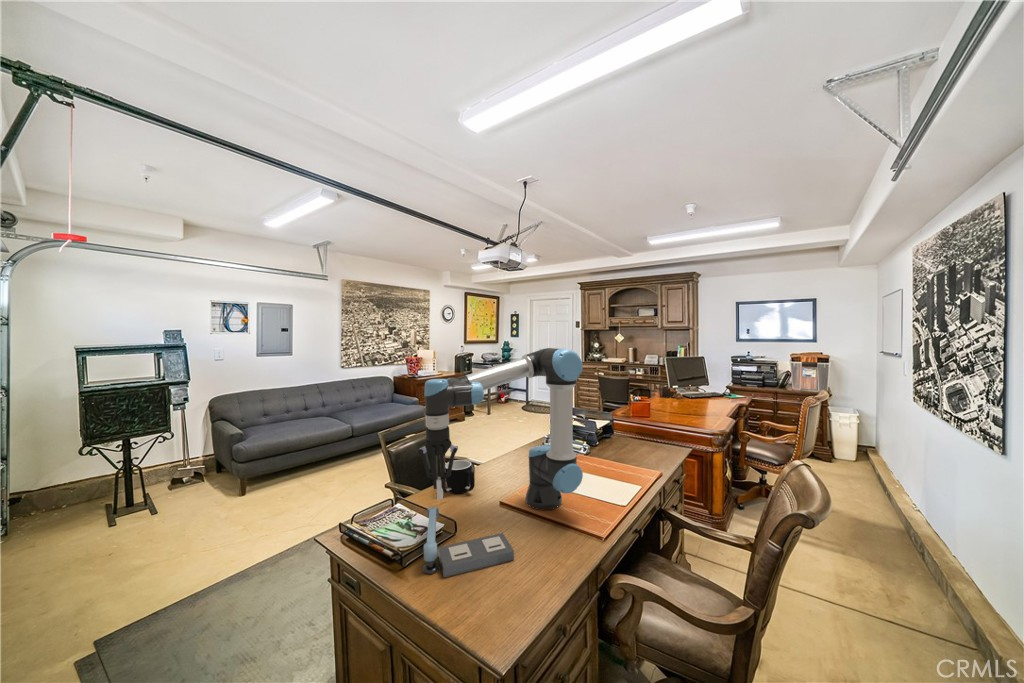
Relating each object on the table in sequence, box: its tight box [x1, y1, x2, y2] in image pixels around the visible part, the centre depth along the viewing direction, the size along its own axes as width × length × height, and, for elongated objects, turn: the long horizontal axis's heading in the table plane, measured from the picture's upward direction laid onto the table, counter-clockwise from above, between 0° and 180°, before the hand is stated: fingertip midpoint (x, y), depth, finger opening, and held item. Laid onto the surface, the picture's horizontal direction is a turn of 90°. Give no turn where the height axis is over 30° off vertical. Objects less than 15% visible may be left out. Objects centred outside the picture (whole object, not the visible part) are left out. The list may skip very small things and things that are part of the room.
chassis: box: [437, 532, 515, 579], centre depth 116 cm, size 22×11×3 cm, turn 110°
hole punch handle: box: [423, 506, 440, 562], centre depth 122 cm, size 27×4×4 cm, turn 11°
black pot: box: [443, 459, 476, 495], centre depth 166 cm, size 16×16×12 cm
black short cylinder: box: [422, 559, 440, 576], centre depth 111 cm, size 5×5×4 cm
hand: (440, 497), depth 119 cm, fingers closed
